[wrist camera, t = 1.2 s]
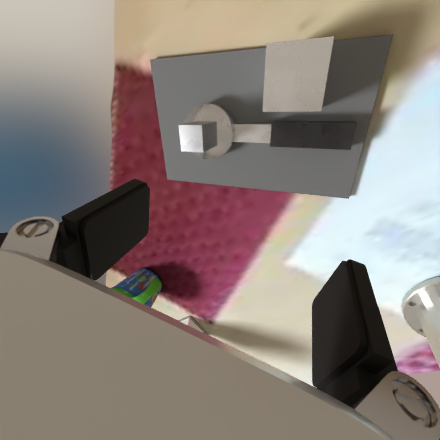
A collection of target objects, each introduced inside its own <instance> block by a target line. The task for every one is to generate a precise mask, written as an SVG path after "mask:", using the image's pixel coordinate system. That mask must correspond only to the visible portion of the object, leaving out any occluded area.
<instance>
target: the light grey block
mask: <svg viewBox="0 0 440 440" xmlns="http://www.w3.org/2000/svg"><path fill="white" fill-rule="evenodd" d="M333 40H334V36H331V37H322V38H313V39H304V40H295V41H286V42H276V43H267V44H266V58H265V76H264V94H263V111H262V112H309V111H321V110H322V104H323V99H324V93H325V87H326V81H327V75H328V69H329V63H330V57H331V52H332V46H333Z"/></svg>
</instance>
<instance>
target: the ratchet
mask: <svg viewBox="0 0 440 440" xmlns="http://www.w3.org/2000/svg"><path fill="white" fill-rule="evenodd" d="M356 126H357V122H355V121H273V122H272V123H236V122H235V119H234V117H233V115H232V114H231V113H230V111H229V110H228V109H226V108H225V107H224V106H222V105H219V104H213V103H212V104H202V105H198V106H196V107H194V108H193V109H192V110H191V111H190V112H189V113H188V115H187V117H186V119H185V122H184V124H180V125H179V135H180V144H181V151H186V152H193V153H194V154H195V155H197V156H198V157H200V158H202V159H207V160H212V159H216V158H219V157H220V156H222V155H224V154H225V153H227V152H228V151H229V150H230V149H231V148H232V147H233V145H234V143H235V142H249V143H270V147H290V148H314V149H338V150H351V146H352V142H353V138H354V134H355V130H356Z"/></svg>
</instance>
